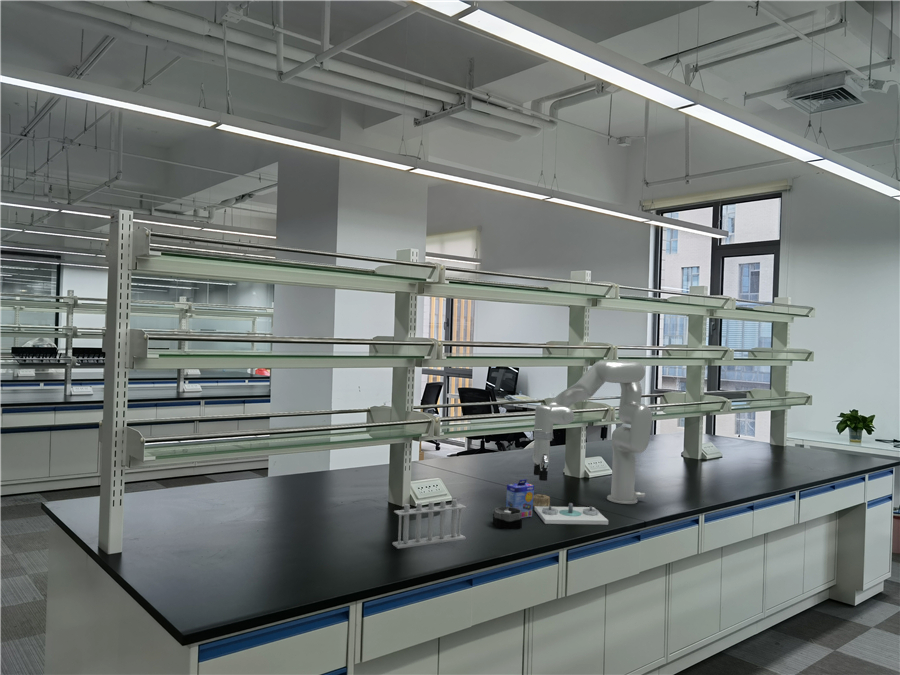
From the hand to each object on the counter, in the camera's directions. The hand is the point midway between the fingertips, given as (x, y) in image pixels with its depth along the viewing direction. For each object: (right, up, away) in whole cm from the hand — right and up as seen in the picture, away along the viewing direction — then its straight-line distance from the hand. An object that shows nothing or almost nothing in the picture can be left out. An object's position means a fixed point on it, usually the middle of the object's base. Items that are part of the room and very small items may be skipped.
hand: (540, 477), depth 265 cm
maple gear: (0, -11, 0) cm, 11 cm away
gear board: (+10, -12, -15) cm, 21 cm away
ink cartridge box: (-10, -11, -17) cm, 23 cm away
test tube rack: (-43, -11, -51) cm, 68 cm away
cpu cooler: (-16, -12, -29) cm, 35 cm away
